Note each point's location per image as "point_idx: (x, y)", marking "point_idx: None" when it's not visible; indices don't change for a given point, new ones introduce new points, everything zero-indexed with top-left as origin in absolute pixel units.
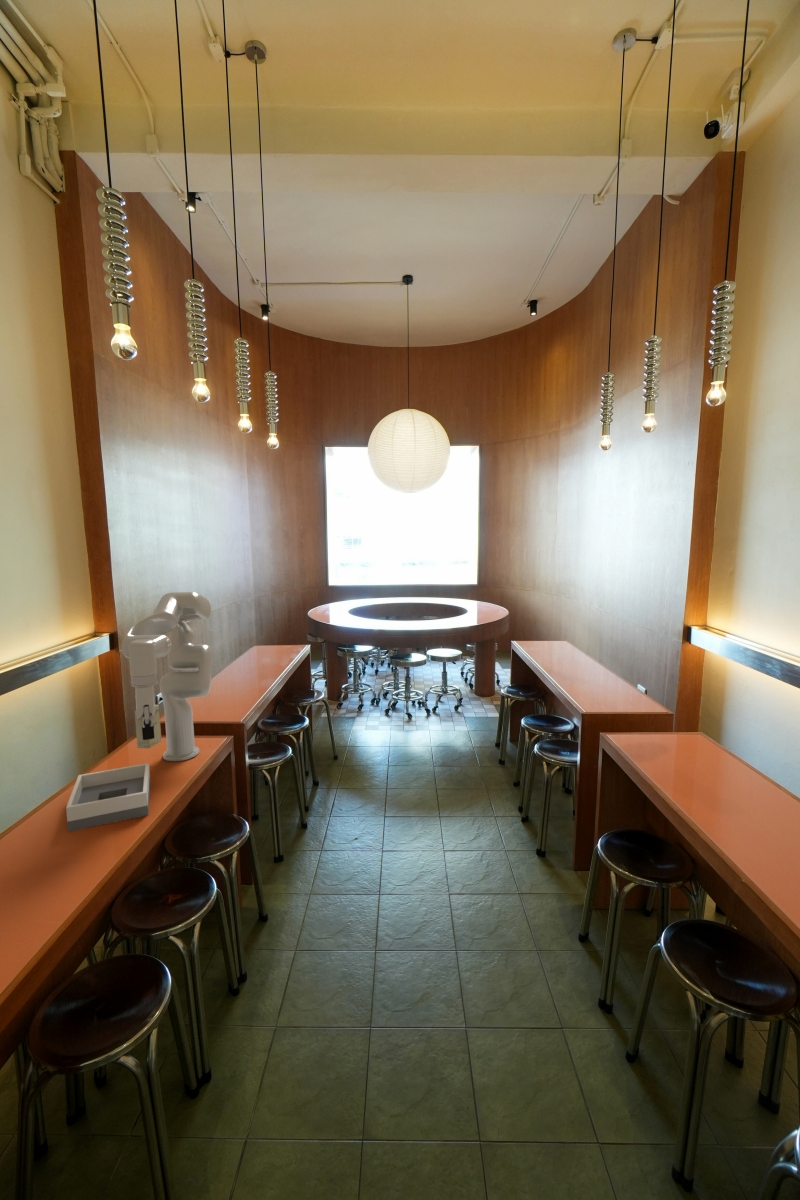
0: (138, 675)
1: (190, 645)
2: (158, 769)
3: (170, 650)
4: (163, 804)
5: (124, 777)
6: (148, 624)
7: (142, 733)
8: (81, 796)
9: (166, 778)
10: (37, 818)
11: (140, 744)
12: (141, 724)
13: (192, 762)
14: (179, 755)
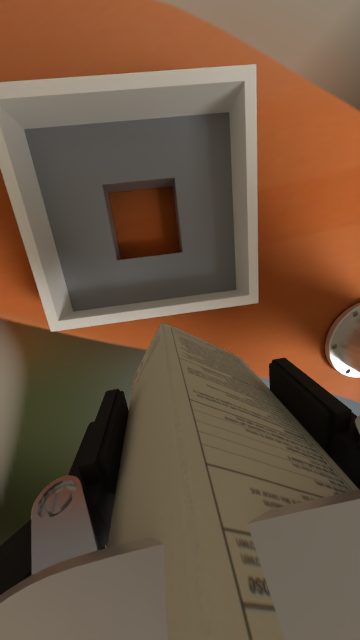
0: None
1: None
2: (304, 299)
3: None
4: (118, 337)
5: (237, 235)
6: None
7: (96, 420)
8: (168, 122)
9: (246, 324)
10: (126, 6)
11: (152, 346)
12: (138, 463)
13: (305, 366)
14: (342, 342)
